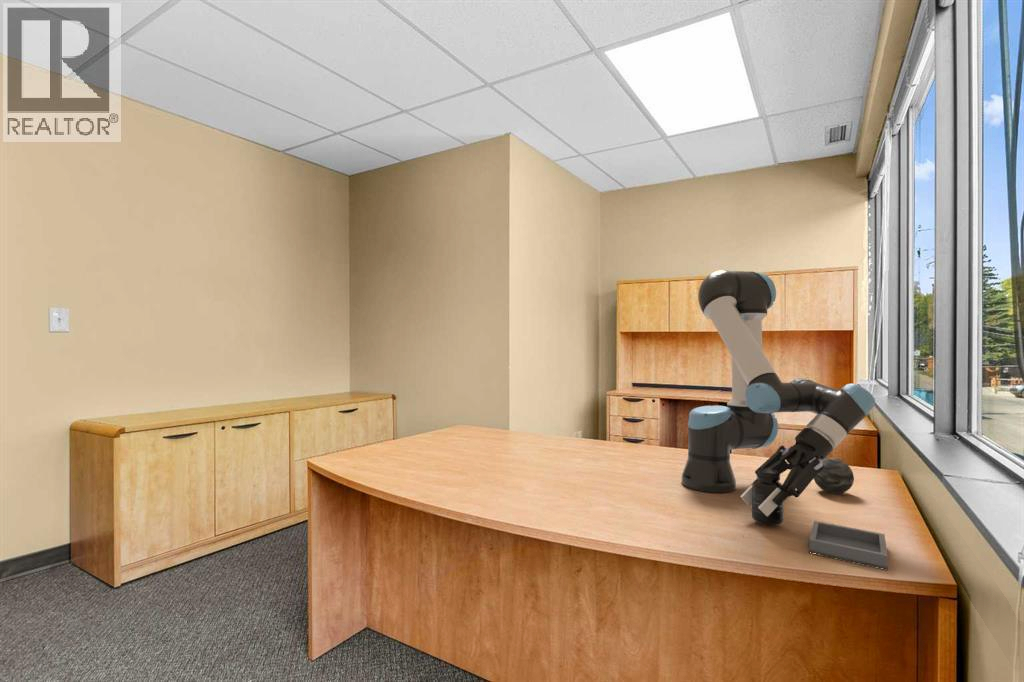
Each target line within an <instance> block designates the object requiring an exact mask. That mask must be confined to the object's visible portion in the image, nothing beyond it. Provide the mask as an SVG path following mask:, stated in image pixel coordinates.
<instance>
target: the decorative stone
mask: <svg viewBox="0 0 1024 682" xmlns="http://www.w3.org/2000/svg"><path fill="white" fill-rule="evenodd" d="M819 461H820V462H821V463H822V464H823V465H824V466H825V468H824V469H823V470H822V471H820V472H819V473H818V474H817V475H816V476H815V477H814V479H813V480H814V482H815V484H816V486H818V488H819V489H821V490H822V491H824V492H826V493H829V494H835V495H837V494H839V495H840V494H844V493H846V492H847V491H849V490H850V489H851V488H852V486H853V484H854V481H855V476H854V472H853V470H852V468H851V467H850V465H848V464H847V462H845V461H843V460H841V459H839V458H836V457H826V458H825V459H823V460H820V459H819Z"/></svg>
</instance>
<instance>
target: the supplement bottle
mask: <svg viewBox="0 0 1024 682" xmlns="http://www.w3.org/2000/svg"><path fill="white" fill-rule="evenodd" d="M758 468H759V467H758ZM758 468H757V469H758ZM757 469H756V470H757ZM757 477H758V479H757ZM780 480H781V474H780V472H779V471H777V470H774V469H769V468H759V469H758V470H757V475H756V479H754V480H753V482H752V483H753V484H752V483H751V484H752V502H751V518H752V520H754V521H755V522H757V523H760V524H763V525H768V526H769V525H770V526H780V525H782V524H783V522H784V514H785V513H784V512H785V511H784V510H785V509H784V508H785V507H784V505H785V500H784V501H783V502H782V503H781V504H780V505H779V506H777V507H776V508H775V509H774V510H773V511H772V512H771V513H770V515H769V516H768V517H767V516H766V515H765V514H764V513H763V512H762V511H761V510H760V509H759V508H758V507H759V506H760V505H761V504H762V503H763V502H764V501H765V500H766V499H767V498H768V496H769V495H770V494H771V493H772V492H773V491H774V490H775V489H776V488H777V487H778V488H779V489H780V490H782V489H781V488H780V487H779V485H783V483H782V482H780Z"/></svg>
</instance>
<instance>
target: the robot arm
mask: <svg viewBox="0 0 1024 682" xmlns="http://www.w3.org/2000/svg"><path fill="white" fill-rule="evenodd" d="M697 294H698V295H697V296H698V297H697V299H698V304H699V307H700V310H701V312H702V314H703V315H704V317H705V318H706V319H707V320H710V321H711V322H712V325H713V326H714V328H715V329H716V331H717V333H718V335H719V337H720V338H721V340H722V342H723V343H724V346H725V347H726V349H727V351H728V353H729V354H730V356H731V393H732V394H731V396H732V397H731V399H730V400H728V402H727V403H726V406H725V405H703V406H699V407H694V408H693V409H691V411H690V412H689V414H688V422H687V427H688V436H687V437H688V441H687V442H688V443H687V447H688V449H687V450H688V451H687V454H688V456H687V460H686V463H685V466H684V468H683V470H682V473H681V484H682V485H684V486H685V487H686V488H689V489H692V490H696V491H700V492H704V493H705V492H706V493H715V494H716V493H718V494H719V493H720V494H723V493H731V492H734V491H736V489H737V482H736V481H737V480H736V476H735V475H734V474H735V473H734V471H733V468H732V464H731V460H730V459H731V458H730V457H731V455H730V454H731V450H740V449H741V450H744V449H746V450H747V449H752V450H754V449H755V450H756V449H759V448H765V447H766V448H767V447H768V446H770V445H772V443H773V442H774V441H775V440H776V438H777V436H778V432H779V421H778V419H777V417H775V413H777V414H778V413H804V412H805V413H807V412H808V413H809V412H810V413H813V414H816V415H815V416H814V417H813V418H812V419H811V420H810V421H809V422H808V423H807V424H806V428H805V427H804V428H802V430H801V431H800V432H799V433H798V434H797V435H796V436H795V439H794V440H795V444H793V445H791V446H790V447H789V448H787V447H785V446H784V445H781V446H779V447H778V448H777V450H776V451H775V453H774V454H772V455H771V456H770V457H769V458H768V459H767V460H765V462H763V463H762V464H761V465H760V466H759V467H758V468H757V469H755V471H754V473H755V475H756V479H758V477H757V470H758V469H759V468H769V469H774V470H777V471H779V472H780V475H782V474H783V473H784V472H786V471H787V470H790V471H789V473H788V474H787V476H786V478H785V480H784V482H783V483H782V485H779V487H780V488H781V489H782V490H780V489H779V488H778V487H777V488H776V489H775V490H774V491H773V492H772V493H771V494H770V495H769V496H768V498H767V499H766V500H765V501H764V502H763V503H762V504H761V505H760V506H759V507H758V508H759V509H760V510H761V511H762V512H763V513H764V514H765V515H766V516H767V517H768V516H769V515H770V513H771V512H772V511H773V510H774V509H775V508H776V507H777V506H779V505H780V504H781V503H782V502H783V501H784V502H785V501H786V500H787V498H789V497H791V496H792V497H795V498H799V497H800V496H801V494H802V493H803V492H804V491H805V490H806V489H807V487H808V486H809V485H810V483H811V482H812V481H813V480H814V477H815V476H816V475H817V474H818V473H819V472H820V471H822V470H823V469H824V468H825V466H824V465H823V464H822V463H821V462H820V460H823V459H825V458H828V456H829V455H830V454H831V453H832V452H833V451H834V448H836V447H837V446H838V445H839V444H840V443H841V442H842V441H843V440H844V439H845V437H847V436H848V435H849V434H850V432H851V431H852V430H853V429H854V428H855V427H856V426H858V424H860V422H862V421H863V420H864V419H865V418H867V416H868V414H869V413H870V412H871V410H872V409H873V408H874V407H875V405H876V399H875V397H874V395H873V394H872V393H871V392H870V391H869V390H867V389H866V388H865V387H863V386H861V385H858V384H856V383H847V384H846V385H844V386H843V387H841V389H838V388H833V387H830V386H827V385H825V384H821V383H818V382H816V381H814V380H811V379H806V378H795V379H794V380H792V381H790V382H782V380H781V379H780V377H779V376H778V374H777V373H776V371H775V369H774V368H773V366H772V364H771V363H770V361H769V360H768V358H767V356H766V354H765V353H764V351H763V320H764V319H765V317H767V316H768V309H771V307H773V305H774V303H775V301H776V298H777V289H776V285H775V283H774V281H773V280H772V278H771V277H769V276H768V275H767V274H765V273H763V272H757V271H743V270H742V271H741V270H740V271H739V270H737V271H736V270H717V271H714V272H712V273H710V274H708V275H707V276H706V277H705V278H704V279H703V281H702V282H701V284H700V286H699V289H698V293H697ZM752 484H753V482H752V483H751V484H750V485H749V486H748V488H746V490H745V491H743V493H742V494H741V495H740V498H741V499H742V500H743V502H745V503H746V504H747V505H748V506H751V505H752ZM750 504H751V505H750Z"/></svg>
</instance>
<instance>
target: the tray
mask: <svg viewBox="0 0 1024 682" xmlns="http://www.w3.org/2000/svg"><path fill="white" fill-rule="evenodd" d="M808 541H809V543H808V544H809V545H808V546H809V547H808V553H809V552H811V553H816V554H820V555H823V556H822V557H825V556H827V557H826V558H829V557H832V558H831V559H834V558H837V559H836V560H838V559H841V560H840V561H843V560H845V561H844V562H847V561H850V562H849V563H852V562H855V563H854V564H856V563H860V564H859V565H861V564H864V565H863V566H865V565H869V566H868V567H870V566H873V567H872V568H874V567H878V568H877V569H879V568H883V569H887V570H888V557H889V556H888V548H887V542H886V535H885V534H884V533H880V532H875V531H869V530H864V529H859V528H854V527H848V526H843V525H838V524H833V523H827V522H823V521H817V520H813V523H812V527H811V532H810V535H809V539H808ZM811 553H810V554H811ZM816 554H815V555H816ZM820 555H819V556H820ZM883 569H882V570H883Z"/></svg>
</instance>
